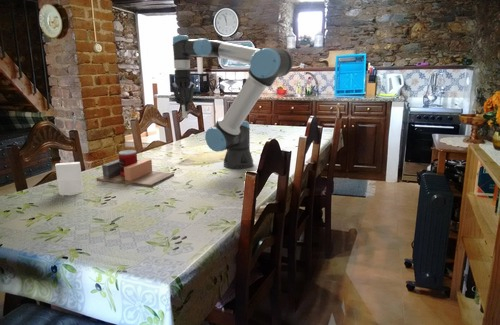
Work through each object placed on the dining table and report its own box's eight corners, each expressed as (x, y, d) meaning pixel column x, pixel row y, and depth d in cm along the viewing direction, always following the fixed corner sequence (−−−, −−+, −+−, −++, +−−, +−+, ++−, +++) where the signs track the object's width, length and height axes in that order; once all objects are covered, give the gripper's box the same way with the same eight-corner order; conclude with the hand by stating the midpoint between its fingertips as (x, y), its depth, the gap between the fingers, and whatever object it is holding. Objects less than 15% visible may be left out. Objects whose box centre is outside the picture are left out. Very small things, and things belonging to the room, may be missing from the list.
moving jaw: (152, 171, 176) (151, 159, 175) (130, 180, 162) (129, 168, 160) (146, 170, 177) (146, 159, 176) (125, 180, 163) (123, 167, 161)
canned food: (141, 172, 175) (139, 149, 172) (134, 177, 167) (132, 153, 165) (125, 172, 176) (123, 149, 173) (117, 177, 168) (115, 153, 165)
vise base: (174, 175, 174) (173, 160, 172) (151, 186, 158) (150, 171, 156) (123, 170, 184) (121, 156, 182) (96, 180, 167) (95, 165, 166)
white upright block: (57, 196, 147) (52, 167, 144) (61, 189, 155) (57, 161, 152) (81, 194, 149) (77, 165, 146) (85, 187, 158) (81, 160, 155)
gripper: (198, 69, 181) (200, 117, 187) (174, 69, 185) (177, 116, 191) (190, 69, 174) (193, 119, 180) (166, 69, 179) (169, 118, 184)
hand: (185, 117), depth 186 cm, fingers closed
